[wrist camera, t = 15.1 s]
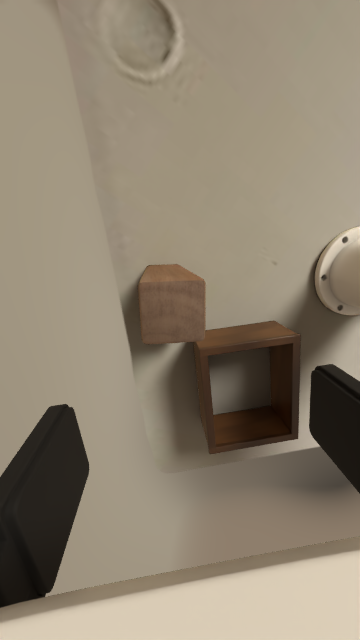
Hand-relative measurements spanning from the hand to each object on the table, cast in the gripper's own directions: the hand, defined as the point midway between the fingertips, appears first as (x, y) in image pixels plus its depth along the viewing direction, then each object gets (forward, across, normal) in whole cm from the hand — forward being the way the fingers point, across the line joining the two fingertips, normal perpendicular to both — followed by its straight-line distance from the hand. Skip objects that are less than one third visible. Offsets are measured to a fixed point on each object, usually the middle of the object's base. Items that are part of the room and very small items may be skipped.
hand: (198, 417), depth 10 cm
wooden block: (+26, +1, 0) cm, 26 cm away
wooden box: (+26, -9, +14) cm, 31 cm away
